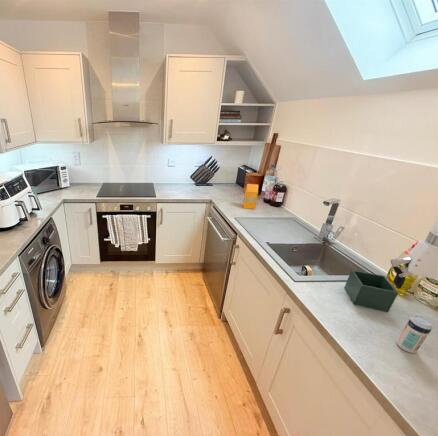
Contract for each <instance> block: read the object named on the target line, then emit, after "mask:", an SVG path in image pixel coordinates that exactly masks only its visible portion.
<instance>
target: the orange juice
mask: <svg viewBox="0 0 438 436" xmlns="http://www.w3.org/2000/svg"><path fill="white" fill-rule="evenodd" d="M258 195H259V184H258V183H257V184H255V183H247V184H246V186H245V190H244V195H243V201H242V208H243V209H246V210H247V209H248V210H255V209H256V205H257V201H258Z"/></svg>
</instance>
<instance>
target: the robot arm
mask: <svg viewBox="0 0 438 436" xmlns="http://www.w3.org/2000/svg"><path fill="white" fill-rule="evenodd" d="M390 264H391V267H392V270H393V271H394V272H395V273H396V275H395V276H394V278H393V280H392V282H393V284H394V285H395V288H397V289H401V288H402V287H403V285H404V283H405V282H406V277H408V276H411V275H415V276H419V277H424V278H428V279H432V280H436V281H438V216H437V218H436V219H435V221H434V223H433V225H432V227H431V228H430V230H429V232H428V234H427V236H426V237H425V239H420V240H419V241H418V242H417V243H416V244H415V245H414V247H413V248H412V249H411V250H410V252H409V253H408V254H407V256H406V257H400V258H392V259H391V258H390ZM399 265H403V267H399ZM436 293H437V294H438V291H437V292H436Z"/></svg>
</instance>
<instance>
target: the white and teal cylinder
mask: <svg viewBox="0 0 438 436" xmlns="http://www.w3.org/2000/svg"><path fill="white" fill-rule="evenodd" d="M432 329H433V324H432V322H431V321H430V320H428V319H427V318H425V317H422V316H420V315H414V316H411V317H410V318H409V320H408V321H407V322H406V325H405V326H404V328H403V330H402V331H401V333H400V334H399V336H398V338H397V340H396V344H397V346H398V347H399V348H401V350H403V351H405V352H407V353H411V354H416V353H417V352H418V351H419V349H420V348H421V346H422V345H423V343H424V342H425V340H426V339H427V338H428V336H429V334H430V333H431V331H432Z"/></svg>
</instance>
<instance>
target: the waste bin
mask: <svg viewBox="0 0 438 436" xmlns="http://www.w3.org/2000/svg"><path fill="white" fill-rule="evenodd" d="M343 288H344V290H345V292H346V293H347V295H348V297H349V299H350V301H351V303H352V304H353V305H355V306H359V307H363V308H368V309H372V310H377V311H380V312H386V313H389V311H390V310H391V308H392V306H393V304H394V303H395V300H396V298H397V297H398V295H399V291H397V289H396V287H394V286H393V284H392V283H391V282H390V280H389V279H388V278H387V277H386V276H385V275H381V274H377V273H372V272H371V273H370V272H366V271H360V270H355V269H351V270H350V272H349V275H348V278H347V280H346V282H345V285H344V287H343Z"/></svg>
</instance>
